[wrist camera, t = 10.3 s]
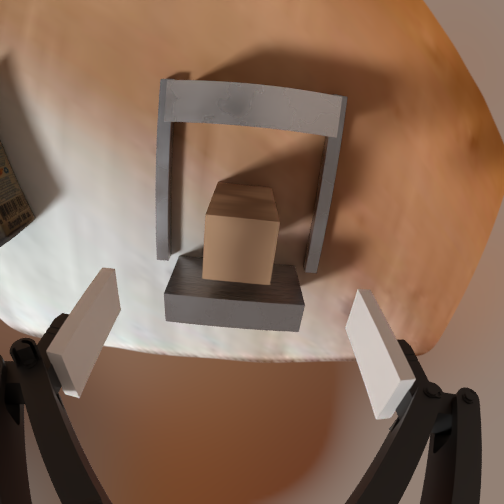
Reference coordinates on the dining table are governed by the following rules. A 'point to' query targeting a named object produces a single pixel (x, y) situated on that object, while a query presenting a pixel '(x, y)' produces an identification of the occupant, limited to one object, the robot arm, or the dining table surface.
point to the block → (240, 234)
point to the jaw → (252, 106)
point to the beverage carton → (11, 203)
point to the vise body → (236, 293)
